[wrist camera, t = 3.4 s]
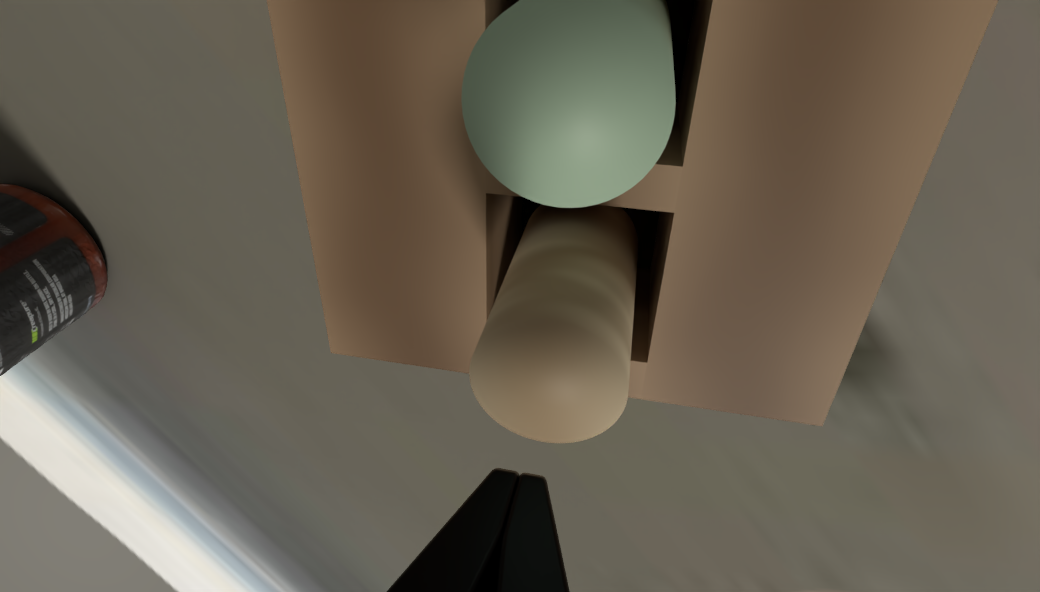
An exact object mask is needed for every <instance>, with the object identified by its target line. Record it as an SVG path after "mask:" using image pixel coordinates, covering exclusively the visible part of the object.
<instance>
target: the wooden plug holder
mask: <svg viewBox="0 0 1040 592" xmlns="http://www.w3.org/2000/svg"><path fill="white" fill-rule="evenodd" d="M518 1H519V0H267V4H268V9H269V15H270V20H271V26H272V31H273V37H274V42H275V48H276V53H277V59H278V64H279V70H280V75H281V81H282V86H283V92H284V97H285V103H286V108H287V114H288V119H289V125H290V130H291V136H292V141H293V147H294V152H295V158H296V163H297V169H298V174H299V180H300V185H301V191H302V196H303V202H304V207H305V213H306V218H307V223H308V229H309V234H310V240H311V245H312V251H313V256H314V262H315V267H316V273H317V278H318V284H319V289H320V295H321V300H322V306H323V311H324V317H325V322H326V328H327V333H328V339H329V344H330V350H331V353H335V354H342V355H349V356H356V357H362V358H369V359H376V360H382V361H389V362H396V363H402V364H409V365H416V366H422V367H429V368H436V369H443V370H449V371H456V372H463V373H469V369H470V362H471V358H472V356H473V353H474V351H475V348H476V346H477V344H478V341H479V339H480V336H481V334H482V332H483V329H484V327H485V324H486V322H487V319H488V317H489V315H490V312H491V310H492V307H493V305H494V303H495V300H496V298H497V295H498V293H499V290H500V288H501V286H502V283H503V281H504V278H505V276H506V274H507V271H508V269H509V266H510V264H511V261H512V259H513V257H514V254H515V252H516V249H517V247H518V244H519V242H520V240H521V233H522V201H523V197H522V196H520V195H518V194H517V193H515V192H513V191H511V190H510V189H509V188H507V187H506V186H505V185H503V184H502V183H501V182H499V181H498V180H497V179H496V178H495V177H494V176H493V175H492V174H491V173H490V172H489V170H488V169H487V168H486V167H485V166H484V164H483V163H482V161H481V160H480V158H479V157H478V155H477V154H476V152H475V150H474V148H473V146H472V144H471V142H470V139H469V136H468V134H467V131H466V128H465V123H464V119H463V113H462V102H461V99H462V84H463V78H464V72H465V69H466V66H467V62H468V59H469V57H470V55H471V52H472V50H473V48H474V46H475V44H476V43H477V41H478V40H479V38H480V36H481V35H482V33H483V32H484V31H485V30H486V29H487V27H488V26H489V25H490V24H491V23H492V22H493V21H494V20H495V19H496V18H497V17H498V16H499V15H501V14H502V13H503V12H504V11H506V10H507V9H508V8H510V7H511V6H513V5H514V4H515V3H517V2H518ZM997 2H998V0H695V3H694V9H693V15H692V21H691V27H690V33H689V39H688V45H687V51H686V58H685V64H684V70H683V76H682V82H681V88H680V94H679V100H678V103H676V106H675V116H674V122H673V126H672V130H671V134H670V136H669V139H668V142H667V144H666V147H665V149H664V150H663V152H662V154H661V156H660V158H659V159H658V161H657V162H656V164H655V165H654V166H653V168H652V169H651V170H650V171H649V172H648V173H647V175H646V176H645V177H644V178H643V179H642V180H641V181H639V182H638V183H637V184H636V185H635V186H633V187H632V188H631V189H629V190H628V191H626V192H624V193H623V194H621V195H619V196H617V197H615V198H613V199H611V200H609V201H606V202H603V203H600V204H597V205H605V206H615V207H624V208H634V209H643V210H653V211H660V214H659V220H658V226H657V232H656V238H655V244H654V250H653V256H652V262H651V268H650V269H644V268H637V273H636V288H635V302H634V317H633V332H632V346H631V361H630V375H629V390H628V397H630V398H637V399H643V400H650V401H657V402H663V403H670V404H677V405H684V406H690V407H697V408H704V409H710V410H717V411H724V412H730V413H737V414H744V415H750V416H757V417H764V418H771V419H777V420H784V421H791V422H797V423H804V424H811V425H817V426H823V423H824V421H825V419H826V416H827V414H828V411H829V409H830V406H831V404H832V402H833V399H834V397H835V394H836V392H837V390H838V387H839V385H840V382H841V380H842V377H843V375H844V373H845V370H846V368H847V365H848V363H849V360H850V358H851V356H852V353H853V351H854V348H855V346H856V344H857V341H858V339H859V336H860V334H861V331H862V329H863V327H864V324H865V322H866V319H867V317H868V315H869V312H870V310H871V307H872V305H873V302H874V300H875V298H876V295H877V293H878V290H879V288H880V285H881V283H882V281H883V278H884V276H885V273H886V271H887V269H888V266H889V264H890V261H891V259H892V256H893V254H894V252H895V249H896V247H897V244H898V242H899V240H900V237H901V235H902V232H903V230H904V227H905V225H906V223H907V220H908V218H909V215H910V213H911V210H912V208H913V206H914V203H915V201H916V198H917V196H918V194H919V191H920V189H921V186H922V184H923V181H924V179H925V177H926V174H927V172H928V169H929V167H930V165H931V162H932V160H933V157H934V155H935V152H936V150H937V148H938V145H939V143H940V140H941V138H942V136H943V133H944V131H945V128H946V126H947V123H948V121H949V119H950V116H951V114H952V111H953V109H954V106H955V104H956V102H957V99H958V97H959V94H960V92H961V90H962V87H963V85H964V82H965V80H966V77H967V75H968V73H969V70H970V68H971V65H972V63H973V61H974V58H975V56H976V53H977V51H978V48H979V46H980V44H981V41H982V39H983V36H984V34H985V31H986V29H987V27H988V24H989V22H990V19H991V17H992V15H993V12H994V10H995V7H996V5H997Z"/></svg>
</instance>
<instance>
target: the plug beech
mask: <svg viewBox="0 0 1040 592" xmlns="http://www.w3.org/2000/svg"><path fill="white" fill-rule="evenodd" d="M637 259H638V236H637V232H636V229H635V226H634V224H633V222H632V220H631V219H630V217H629V216H628V214H627V213H626V212H625V211H624V210H623V209H622V208H621V207H615V206H605V205H592V206H587V207H578V208H560V207H553V206H547V205H543V204H541V205H540V206H539V207H538V208H537V209H536V210H535V211H534V212H533V214H532V215H531V217H530V218H529V220H528V223H527V225H526V228H525V230H524V232H523V235H522V237H521V240H520V242H519V244H518V247H517V249H516V252H515V254H514V257H513V259H512V261H511V264H510V266H509V269H508V271H507V274H506V276H505V278H504V281H503V283H502V286H501V288H500V290H499V293H498V295H497V298H496V300H495V303H494V305H493V307H492V310H491V312H490V315H489V317H488V319H487V322H486V324H485V327H484V329H483V332H482V334H481V336H480V339H479V341H478V344H477V346H476V348H475V351H474V353H473V356H472V358H471V362H470V369H469V376H470V383H471V387H472V390H473V392H474V395H475V397H476V399H477V400H478V402H479V404H480V405H481V406H482V408H483V409H484V410H485V411H486V412H487V413H488V414H489V415H490V416H491V417H492V418H493V419H494V420H495V421H496V422H498V423H499V424H500V425H502V426H503V427H505V428H506V429H508V430H510V431H512V432H514V433H516V434H518V435H521V436H523V437H526V438H529V439H533V440H537V441H542V442H549V443H572V442H577V441H582V440H586V439H589V438H592V437H594V436H596V435H599V434H600V433H602V432H604V431H606V430H607V429H608V428H609V427H611V426H612V425H613V424H614V423H615V422H616V421H617V420H618V419H619V417H620V416H621V414H622V413H623V411H624V408H625V406H626V403H627V399H628V390H629V375H630V361H631V346H632V332H633V317H634V302H635V288H636V273H637Z"/></svg>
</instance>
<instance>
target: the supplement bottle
mask: <svg viewBox="0 0 1040 592" xmlns="http://www.w3.org/2000/svg"><path fill="white" fill-rule="evenodd" d="M107 280H108V279H107V270H106V266H105V262H104V259H103V256H102V254H101V251H100V250H99V249H98V246H97V245H96V243H95V242H94V240H93V238H92V237H91V236H90V235H89V233H88V232H87V231H86V230H85V229H84V227H83V226H82V225H81V224H80V223H79V222H78V220H77V219H76V218H74V217H73V216H72V215H71V214H70V213H68V212H67V211H66V210H65V209H64V208H63V207H61V206H60V205H59V204H57V203H55V202H54V201H52V200H51V199H49V198H47V197H46V196H44V195H41V194H39V193H37V192H35V191H32V190H30V189H27V188H24V187H20V186H17V185H10V184H0V376H1V375H3V374H4V373H5V372H7V371H8V370H9V369H10V368H12V367H13V366H14V365H16V364H17V363H18V362H20V361H21V360H22V359H24V358H25V357H27V356H28V355H29V354H30V353H32V352H33V351H35V350H36V349H38V348H39V347H40V346H42V345H43V344H44V343H46V342H47V341H48V340H50V339H51V338H53V337H54V336H55V335H57V334H58V333H59V332H61V331H62V330H63V329H65V328H66V327H67V326H68V325H70V324H71V323H73V322H74V321H76V320H77V319H78V318H80V317H81V316H82V315H84V314H85V313H86V312H87V311H88V310H89V309H91V308H92V307H93V306H95V305H96V304H97V303H98V302H99V301H100V300H101V299H102V297H103V296H104V293H105V290H106V287H107Z"/></svg>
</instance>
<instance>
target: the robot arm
mask: <svg viewBox="0 0 1040 592" xmlns="http://www.w3.org/2000/svg"><path fill="white" fill-rule="evenodd" d="M387 592H569V587H568V582H567V577H566V572H565V568H564V563H563V558H562V553H561V548H560V543H559V539H558V534H557V529H556V524H555V519H554V515H553V510H552V505H551V500H550V495H549V491H548V486H547V481H546V479H545V477H543V476H540V475H535V474H529V473H522V474H521V475H520V476H519V473H518V472H516V471H512V470H506V469H501V468H496V469H494V470H492V471H491V472H490V473H489V475H488V476H487V477H486V478H485V479H484V480H483V481H482V483H481V484H480V485H479V486H478V487H477V488H476V490H475V491H474V492H473V493H472V494H471V495H470V496H469V498H468V499H467V500H466V501H465V502H464V503H463V504H462V506H461V507H460V508H459V509H458V510H457V511H456V513H455V514H454V515H453V516H452V517H451V518H450V519H449V521H448V522H447V523H446V524H445V525H444V526H443V527H442V529H441V530H440V531H439V532H438V533H437V534H436V536H435V537H434V538H433V539H432V540H431V541H430V542H429V544H428V545H427V546H426V547H425V548H424V549H423V550H422V552H421V553H420V554H419V555H418V556H417V557H416V559H415V560H414V561H413V562H412V563H411V564H410V565H409V567H408V568H407V569H406V570H405V571H404V572H403V573H402V575H401V576H400V577H399V578H398V579H397V580H396V582H395V583H394V584H393V585H392V586H391V587H390V588H389V590H388V591H387Z"/></svg>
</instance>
